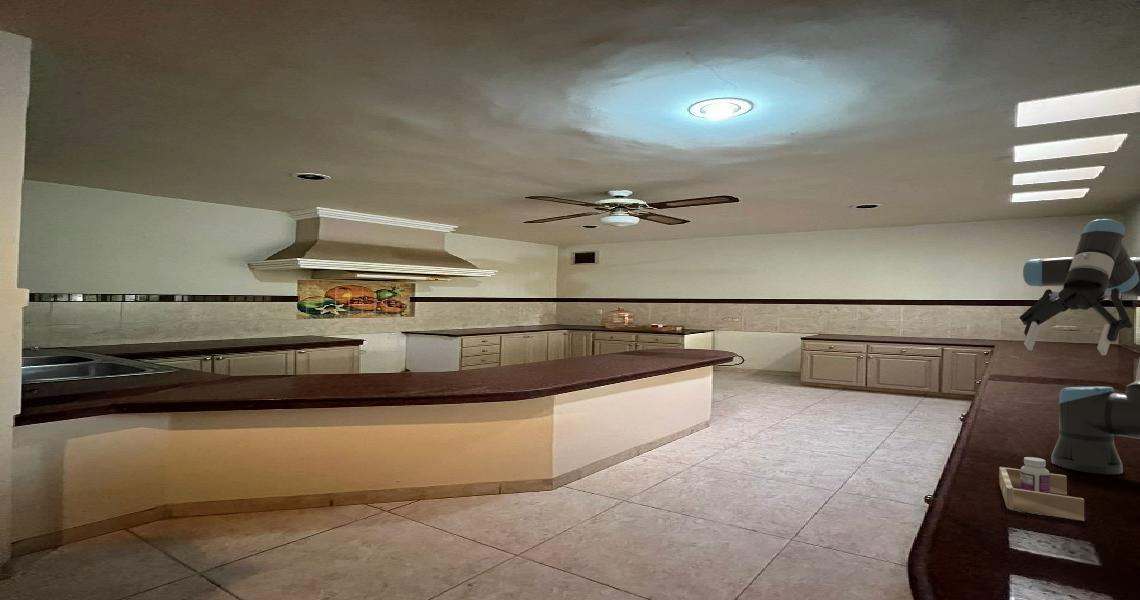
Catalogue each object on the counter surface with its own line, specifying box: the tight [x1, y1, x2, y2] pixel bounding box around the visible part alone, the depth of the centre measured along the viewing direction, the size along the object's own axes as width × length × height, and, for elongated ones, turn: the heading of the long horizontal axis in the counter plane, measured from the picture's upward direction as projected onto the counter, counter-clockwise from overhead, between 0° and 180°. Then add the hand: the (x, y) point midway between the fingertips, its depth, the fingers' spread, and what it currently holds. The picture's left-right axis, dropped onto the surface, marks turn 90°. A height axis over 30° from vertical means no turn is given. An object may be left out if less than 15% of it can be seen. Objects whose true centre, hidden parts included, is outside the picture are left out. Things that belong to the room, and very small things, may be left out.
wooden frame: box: [998, 466, 1085, 522], centre depth 133 cm, size 22×13×4 cm, turn 146°
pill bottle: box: [1020, 456, 1051, 494], centre depth 134 cm, size 5×5×10 cm
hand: (1062, 349), depth 130 cm, fingers open, 13 cm apart
